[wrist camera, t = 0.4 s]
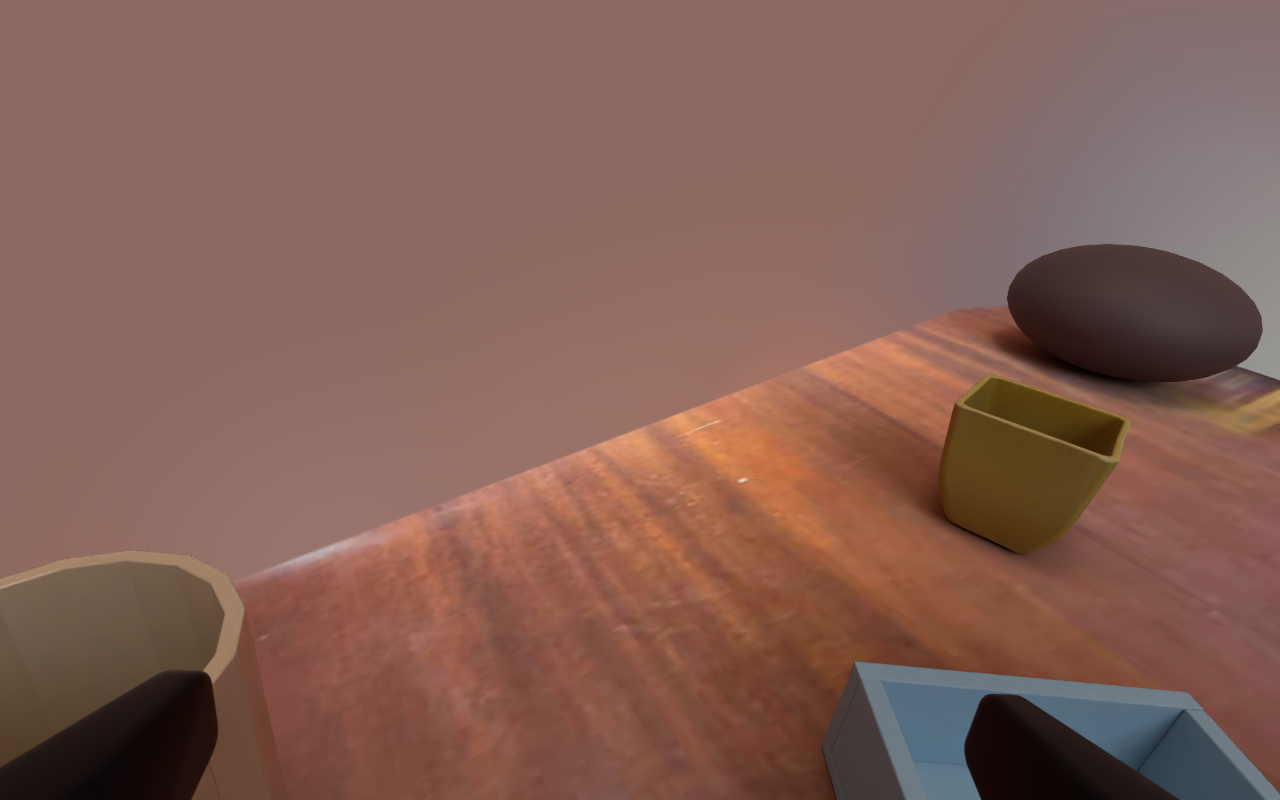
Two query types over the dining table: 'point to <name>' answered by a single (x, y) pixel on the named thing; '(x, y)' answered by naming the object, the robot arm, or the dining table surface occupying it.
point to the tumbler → (133, 656)
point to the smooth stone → (1135, 313)
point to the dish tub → (1104, 714)
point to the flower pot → (1024, 462)
